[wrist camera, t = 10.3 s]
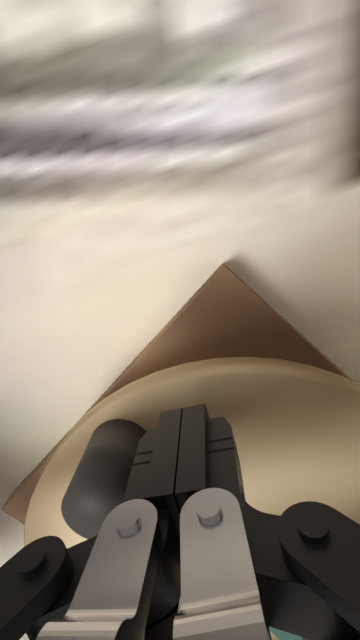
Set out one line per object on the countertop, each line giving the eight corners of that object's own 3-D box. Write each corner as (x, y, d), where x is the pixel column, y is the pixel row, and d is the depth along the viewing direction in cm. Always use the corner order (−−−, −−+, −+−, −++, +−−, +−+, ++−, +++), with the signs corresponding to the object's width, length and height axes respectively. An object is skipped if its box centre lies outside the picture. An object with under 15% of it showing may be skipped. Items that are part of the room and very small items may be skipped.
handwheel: (513, 576, 16) (628, 708, 12) (195, 704, 20) (195, 837, 16) (304, 258, 12) (365, 284, 8) (-43, 501, 16) (-130, 606, 12)
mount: (234, 639, 23) (239, 694, 20) (10, 495, 20) (-17, 537, 17) (466, 484, 18) (510, 528, 16) (222, 263, 15) (228, 274, 13)
